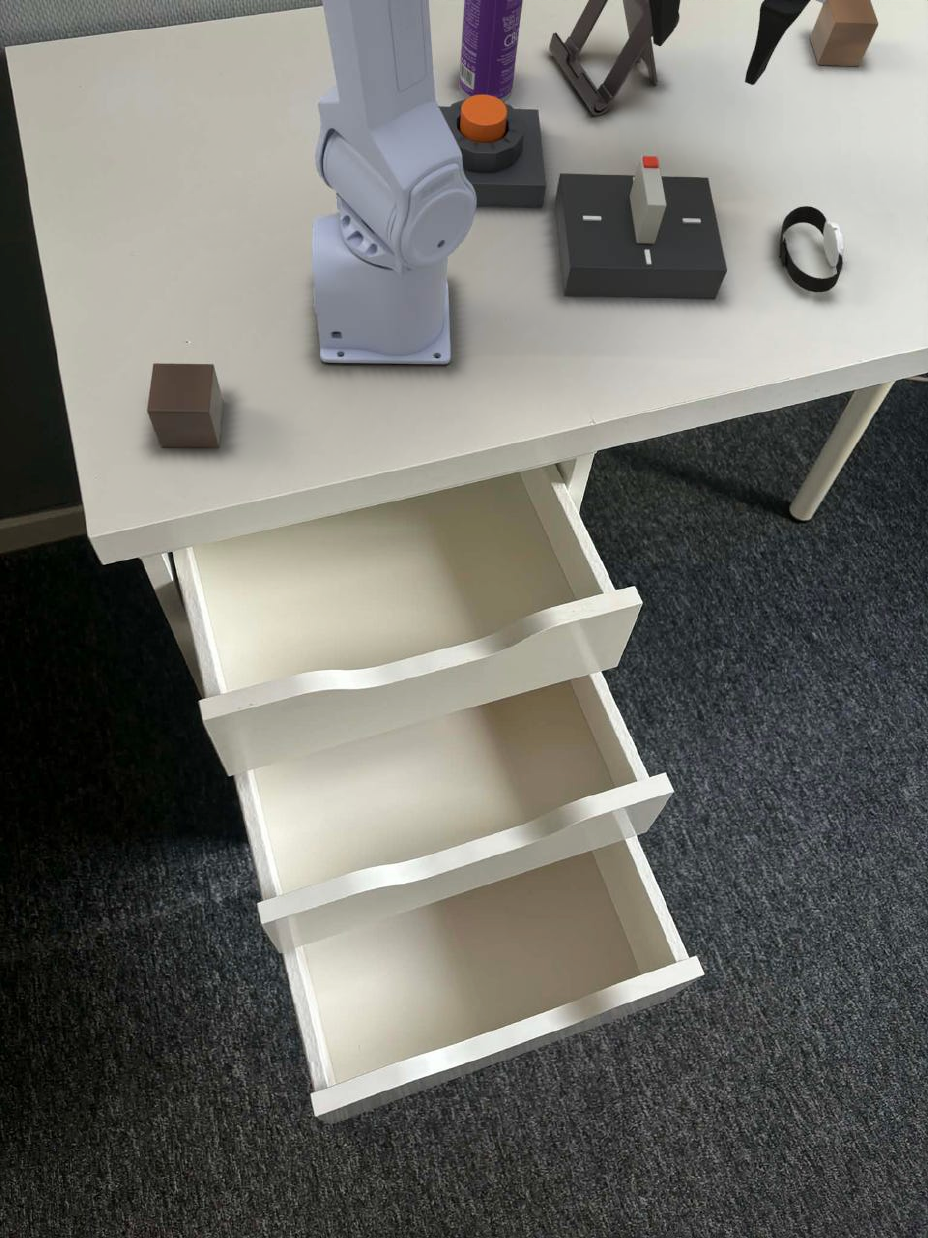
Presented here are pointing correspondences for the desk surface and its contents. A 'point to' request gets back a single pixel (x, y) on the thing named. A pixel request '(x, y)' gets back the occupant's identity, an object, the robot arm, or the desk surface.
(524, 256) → the desk surface
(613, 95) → the tablet stand
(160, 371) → the walnut block
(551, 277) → the desk surface
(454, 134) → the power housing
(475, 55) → the container
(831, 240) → the watch
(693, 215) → the panel
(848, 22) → the cork block
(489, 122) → the power button
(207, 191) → the desk surface
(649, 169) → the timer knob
